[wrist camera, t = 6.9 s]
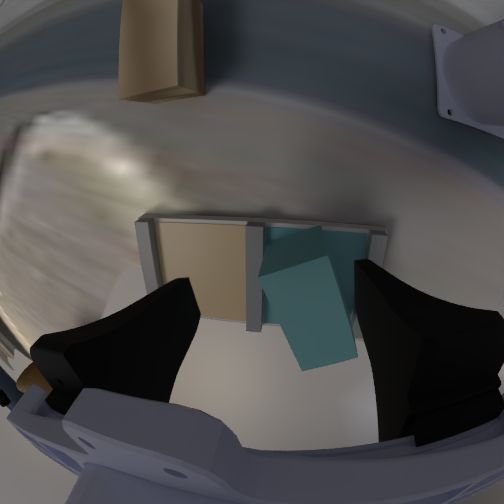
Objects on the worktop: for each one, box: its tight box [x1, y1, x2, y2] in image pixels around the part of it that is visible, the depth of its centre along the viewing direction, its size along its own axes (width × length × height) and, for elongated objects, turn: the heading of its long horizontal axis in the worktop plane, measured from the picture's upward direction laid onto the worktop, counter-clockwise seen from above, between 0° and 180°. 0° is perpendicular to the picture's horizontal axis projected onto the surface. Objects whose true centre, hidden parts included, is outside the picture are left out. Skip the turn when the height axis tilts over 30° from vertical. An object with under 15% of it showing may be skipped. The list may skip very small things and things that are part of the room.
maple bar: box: [119, 0, 205, 104], centre depth 14 cm, size 4×8×5 cm, turn 3°
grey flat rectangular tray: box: [135, 214, 388, 338], centre depth 21 cm, size 19×9×2 cm, turn 90°
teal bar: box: [258, 225, 358, 371], centre depth 18 cm, size 4×8×5 cm, turn 24°
